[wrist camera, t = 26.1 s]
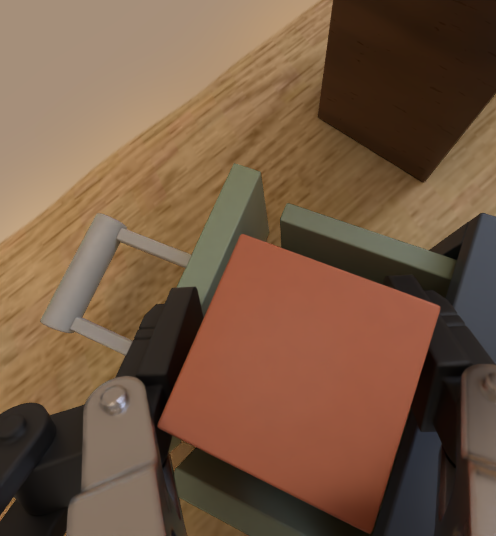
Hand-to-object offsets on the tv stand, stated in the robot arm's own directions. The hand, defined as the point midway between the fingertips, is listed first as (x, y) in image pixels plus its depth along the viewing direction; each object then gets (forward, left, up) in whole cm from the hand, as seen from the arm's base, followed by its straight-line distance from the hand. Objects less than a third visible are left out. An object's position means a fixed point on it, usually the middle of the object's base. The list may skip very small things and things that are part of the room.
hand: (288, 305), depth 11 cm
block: (-1, -1, -4) cm, 5 cm away
